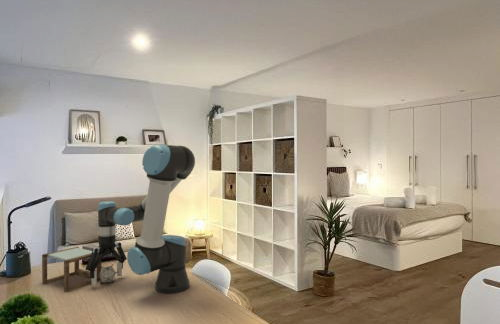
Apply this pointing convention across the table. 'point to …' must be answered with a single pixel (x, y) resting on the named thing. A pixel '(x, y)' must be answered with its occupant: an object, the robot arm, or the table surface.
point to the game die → (107, 274)
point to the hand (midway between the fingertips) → (107, 280)
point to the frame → (66, 271)
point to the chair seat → (74, 252)
